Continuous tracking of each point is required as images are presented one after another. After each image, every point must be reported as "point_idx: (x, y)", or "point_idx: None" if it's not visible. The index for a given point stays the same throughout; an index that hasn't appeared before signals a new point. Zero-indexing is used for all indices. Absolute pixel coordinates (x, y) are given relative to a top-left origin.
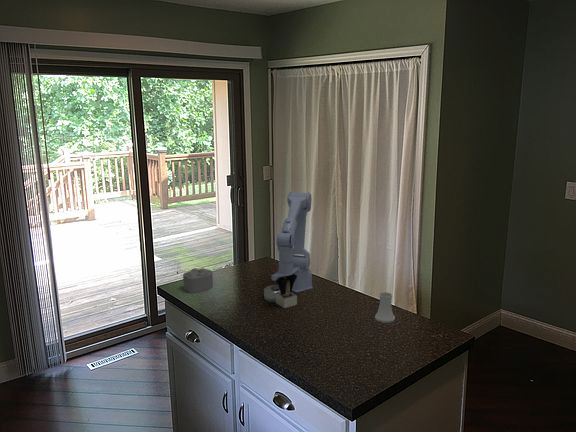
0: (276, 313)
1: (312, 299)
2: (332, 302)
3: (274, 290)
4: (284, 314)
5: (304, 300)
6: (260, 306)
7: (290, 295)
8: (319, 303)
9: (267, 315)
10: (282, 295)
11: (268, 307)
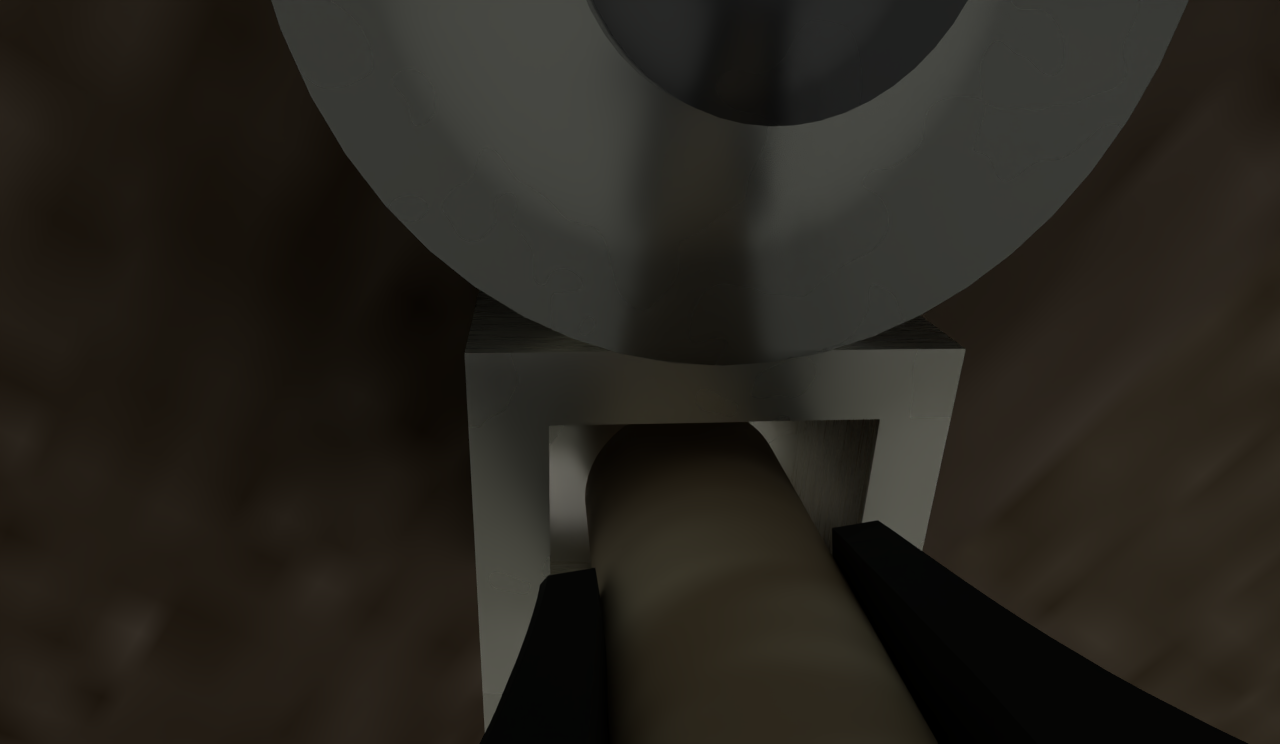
0: (250, 649)
1: (1204, 492)
2: (1276, 730)
3: (614, 47)
4: (367, 738)
5: (1074, 451)
6: (45, 156)
7: (837, 517)
8: (1126, 672)
9: (33, 640)
10: (597, 531)
11: (224, 329)
